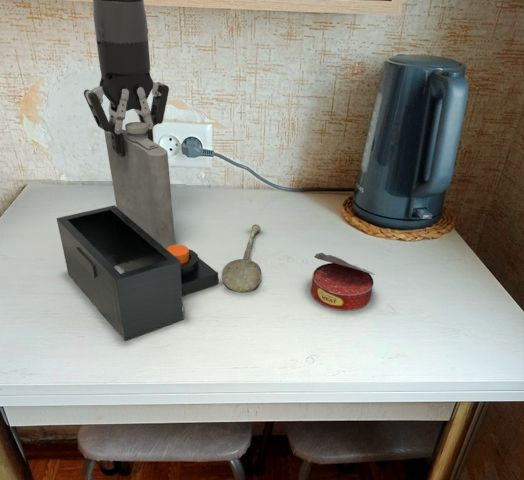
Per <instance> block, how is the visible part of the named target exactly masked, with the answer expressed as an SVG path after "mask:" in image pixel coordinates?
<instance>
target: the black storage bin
mask: <svg viewBox="0 0 524 480" xmlns="http://www.w3.org/2000/svg"><path fill="white" fill-rule="evenodd" d="M56 222H57V228H58V232H59V237H60V243H61V247H62V251H63V256H64V260H65V264H66V270H67V274H68V276H69V277H70V278H71V280H72V281H73V282H74V283H75V285H77V287H78V288H79V290H81V291H82V292H83V294H84V295H85V296H86V297H87V298H88V299H89V301H90V302H91V303H92V305H94V307H95V308H96V309H97V310H98V311H99V312H100V313H101V315H102V316H103V317H104V319H106V321H107V322H108V323H109V324H110V326H111V327H113V329H114V330H115V331H116V332H117V334H118V335H119V336H120V338H121V339H122V340H123V341H124V342H126V341H129V340H132V339H135V338H137V337H141V336H143V335H145V334H148V333H152V332H154V331H157V330H159V329H162V328H164V327H168V326H170V325H173V324H175V323H179V322H181V321H184V309H183V307H184V306H183V296H182V285H181V266H180V260H178V259H177V258H176V257H175V256H174V255H173V254H171V253H170V252H169V251H168V250H167V249H165V248H164V247H163V246H162V245H161V244H159V243H158V242H157V241H156V240H155V239H154V238H152V237H151V236H150V235H149V234H148V233H146V232H145V231H144V230H143V229H142V228H141V227H139V226H138V225H137V224H136V223H135V222H133V221H132V220H131V219H130V218H129V217H127V216H126V215H125V214H124V213H123V212H122V211H120V210H119V209H118V208H117V207H116V204H115V205H110V206H106V207H101V208H96V209H92V210H87V211H82V212H77V213H74V214H69V215H65V216H59V217H56ZM115 266H119V267H120V268H121V269H122V270H123V271H124V272H120V271H119V270H118V269H116V267H115Z"/></svg>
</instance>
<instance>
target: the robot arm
mask: <svg viewBox="0 0 524 480" xmlns="http://www.w3.org/2000/svg"><path fill="white" fill-rule="evenodd" d="M92 5H93V6H92V8H93V9H92V14H93V16H92V17H93V24H94V33H95V40H96V48H97V56H98V63H99V71H100V74H101V77H100V81H99V86H97V87H94V88H92V89H91V90H90V89H88V88H87V89H84V91H83V96H84V98H85V100H86V102H87V105H88V107H89V110H90V112H91V114H92V117H93V118H94V122H95V123H96V125H97V126H98V128H100V129H102V130H103V132H104V131H106V132H108V131H109V132H110V133H111V140H112V148H113V150H114V152H116V153H117V155H119V156H120V157H125V156H126V154H125V145H124V136H123V134H122V133H121V132H122V129H123V125H124V121H125V119H126V114H127V112H128V111H131V110H134V111H135V113H136V115H137V117H138V121H139V122H143V123H146V124H147V125H148V131H147V134H148V139H149V140H151V141H153V142H155V141H154V127H155V126H156V125H161V124H162V123H163V122H164V117H165V113H166V107H167V101H168V97H169V92H170V88H169V86H168V85H167V84H164V83H162V82H160V81H157V82H156V81H154V80H153V78H152V76H151V61H150V46H149V28H148V21H147V19H148V18H147V13H146V9H145V1H144V0H92ZM150 94H151V95H152V100H151V101H152V102H151V107H150V106H149V103H148V98H149V96H150ZM103 96H105V98H107V100H108V101H109V104H108V116H109V117H107V114H106V113H105V110H104V107H103V106H102V104H103V102H104V99H103Z"/></svg>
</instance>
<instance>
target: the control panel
mask: <svg viewBox="0 0 524 480" xmlns="http://www.w3.org/2000/svg"><path fill="white" fill-rule="evenodd" d="M188 249H189V248H188ZM180 266H181V285H182V297H186V296H188V295H191V294H193V293H197V292H201V291H202V290H206V289H209V288H211V287H215V286H218V285H219V272H217V270H215V269H214V268H213V267H211V266H210V265H209V264H208V263H206V261H204V260H203V259H201V258H200V257H199V254H198V253H197V252H195V250H193V249H189V261H188V262H186V263H182V264H180Z"/></svg>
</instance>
